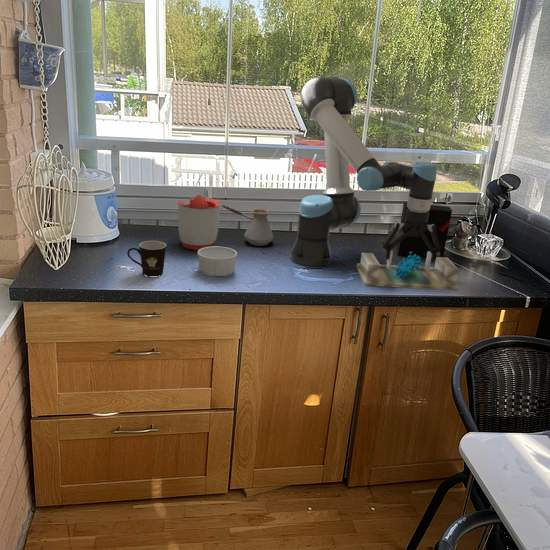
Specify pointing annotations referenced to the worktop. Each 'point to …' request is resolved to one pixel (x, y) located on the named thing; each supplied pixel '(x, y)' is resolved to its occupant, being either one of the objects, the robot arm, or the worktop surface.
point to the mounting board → (380, 275)
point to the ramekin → (217, 260)
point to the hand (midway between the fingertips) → (407, 269)
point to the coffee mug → (151, 257)
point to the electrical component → (426, 233)
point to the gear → (408, 266)
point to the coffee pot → (256, 227)
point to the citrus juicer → (198, 222)
